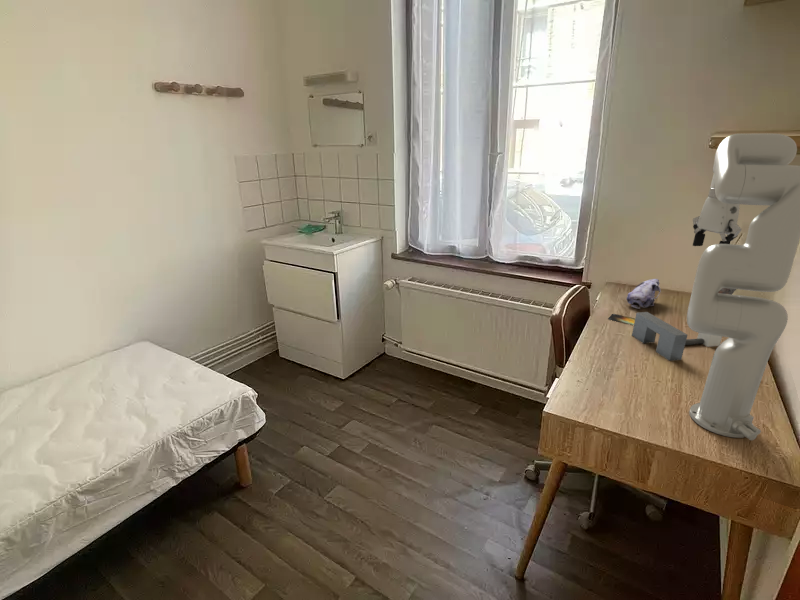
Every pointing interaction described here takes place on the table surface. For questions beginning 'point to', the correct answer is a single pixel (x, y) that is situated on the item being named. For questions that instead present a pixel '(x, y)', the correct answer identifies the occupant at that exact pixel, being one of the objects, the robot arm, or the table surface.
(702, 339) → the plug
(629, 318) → the smartphone
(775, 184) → the robot arm
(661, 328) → the block
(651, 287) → the lavender lump
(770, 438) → the table surface
